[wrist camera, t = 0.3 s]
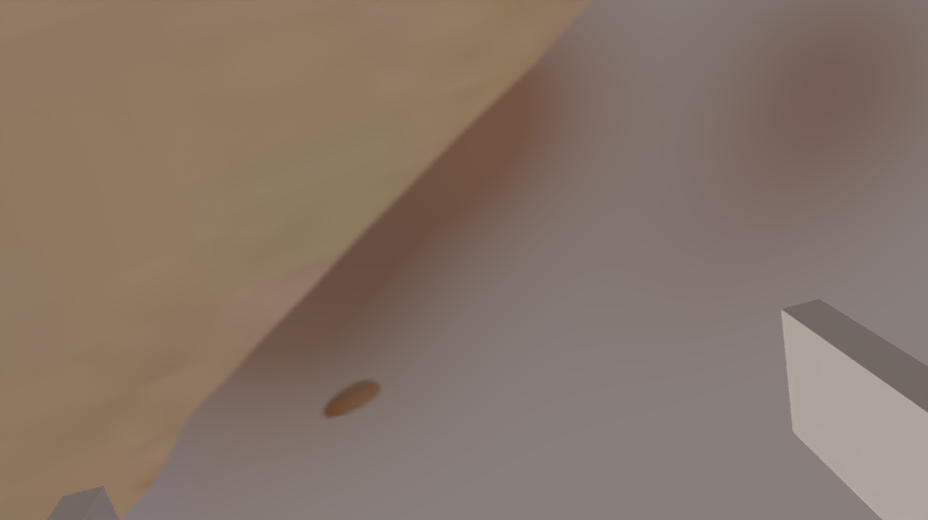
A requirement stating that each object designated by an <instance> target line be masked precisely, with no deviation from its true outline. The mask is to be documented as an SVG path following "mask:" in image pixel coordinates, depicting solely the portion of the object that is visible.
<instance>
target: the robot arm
mask: <svg viewBox="0 0 928 520" xmlns="http://www.w3.org/2000/svg"><path fill="white" fill-rule="evenodd" d="M781 313H782V323H783V334H784V344H785V354H786V365H787V375H788V385H789V395H790V405H791V415H792V426H793V432H794V433H795V434H796V435H797V436H798V437H799V438H800V439H801V440H802V441H803V442H804V443H805V444H806V445H807V446H808V447H809V448H810V449H811V450H812V451H813V452H814V453H815V454H816V455H817V456H818V457H820V459H821V460H822V461H823V462H825V464H827V465H828V466H829V467H830V468H831V469H832V470H833V471H834V472H835V473H836V474H837V475H838V476H839V477H840V478H841V479H842V480H843V481H844V482H845V483H846V484H847V485H848V486H849V487H850V488H851V489H852V490H853V491H854V492H855V493H856V494H857V495H858V496H859V497H860V498H861V499H862V500H863V501H864V502H865V503H866V504H867V505H868V506H869V507H870V508H871V509H872V510H873V511H874V512H875V513H876V514H877V515H878V516H879V517H880V518H882V520H928V366H926V365H925V364H923V363H921V362H920V361H918V360H917V359H915V358H913V357H912V356H910V355H909V354H907V353H905V352H904V351H902V350H901V349H899V348H897V347H896V346H894V345H892V344H891V343H889V342H888V341H886V340H884V339H883V338H881V337H879V336H878V335H876V334H875V333H873V332H871V331H870V330H868V329H867V328H865V327H863V326H862V325H860V324H859V323H857V322H855V321H854V320H852V319H851V318H849V317H847V316H846V315H844V314H842V313H841V312H839V311H837V310H836V309H834V308H833V307H831V306H830V305H828V304H826V303H825V302H823V301H822V300H820V299H818V300H814V301H810V302H807V303H803V304H799V305H795V306H792V307H788V308H784V309H781ZM47 520H119V518H118V516H117V514H116V512H115V509H114V507H113V505H112V503H111V501H110V499H109V496H108V494H107V492H106V490H105V488H104V486H101V487H98V488H94V489H90V490H86V491H82V492H78V493H75V494H71V495H67V496H63V497H62V499H61V500H60V501H59V503H58V504H57V506H56V507H55V509H54V510H53V512H52V513H51V515H50V516H49V518H48V519H47Z"/></svg>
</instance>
